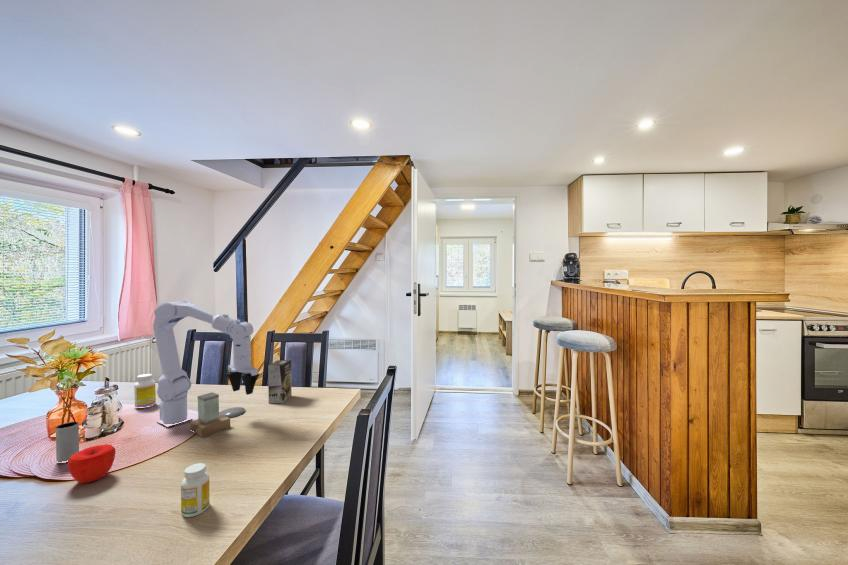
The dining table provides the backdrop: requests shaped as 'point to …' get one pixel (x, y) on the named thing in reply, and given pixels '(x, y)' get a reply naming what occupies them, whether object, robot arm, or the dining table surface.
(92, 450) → the apple
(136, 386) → the supplement bottle
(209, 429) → the tan flat square block
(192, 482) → the supplement bottle
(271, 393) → the coffee box
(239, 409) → the slate coaster
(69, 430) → the grey tin can
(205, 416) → the tea tin
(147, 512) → the dining table surface
